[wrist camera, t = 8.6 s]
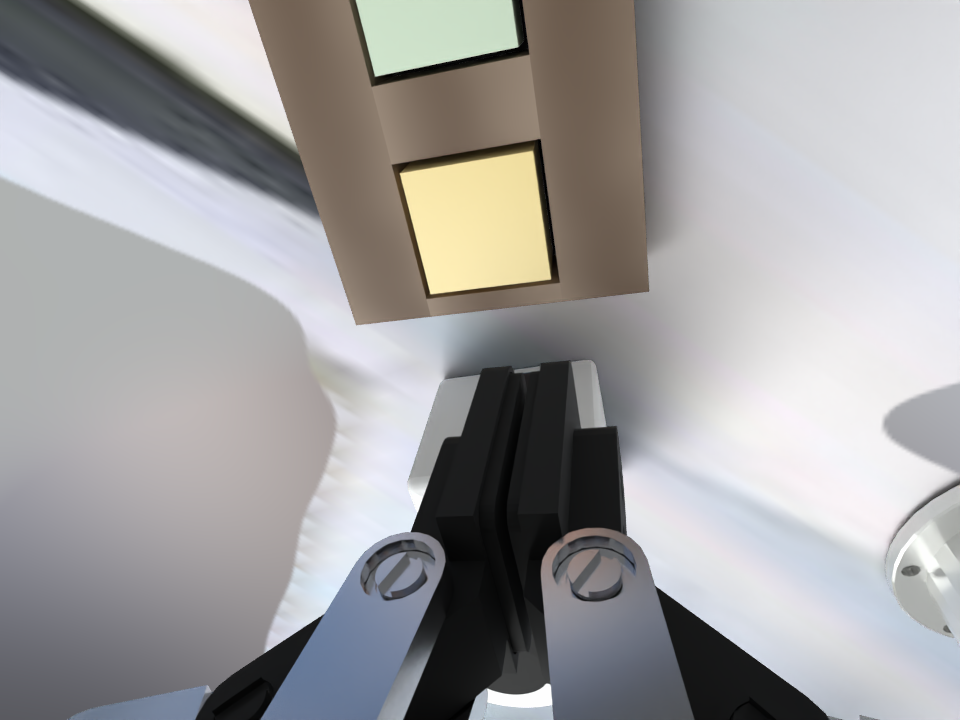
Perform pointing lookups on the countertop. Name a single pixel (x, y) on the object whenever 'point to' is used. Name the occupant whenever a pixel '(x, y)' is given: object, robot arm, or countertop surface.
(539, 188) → the ochre key
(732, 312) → the countertop surface
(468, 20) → the sage key
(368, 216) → the key panel
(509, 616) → the robot arm
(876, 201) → the countertop surface
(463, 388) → the container
